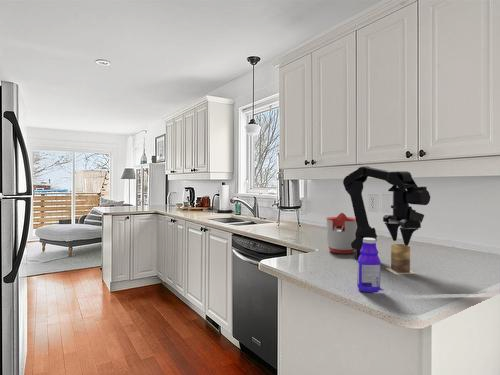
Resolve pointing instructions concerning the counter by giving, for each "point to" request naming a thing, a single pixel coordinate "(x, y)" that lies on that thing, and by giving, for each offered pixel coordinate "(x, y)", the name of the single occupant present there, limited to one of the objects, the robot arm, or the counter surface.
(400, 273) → the board
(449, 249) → the counter surface
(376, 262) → the bottle
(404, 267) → the walnut block
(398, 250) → the ochre block
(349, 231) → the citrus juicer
